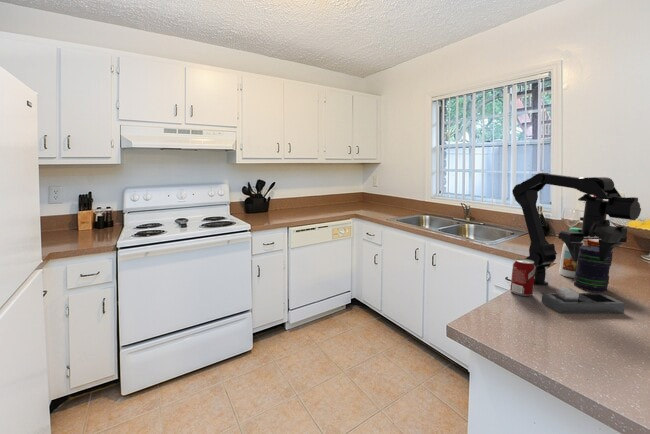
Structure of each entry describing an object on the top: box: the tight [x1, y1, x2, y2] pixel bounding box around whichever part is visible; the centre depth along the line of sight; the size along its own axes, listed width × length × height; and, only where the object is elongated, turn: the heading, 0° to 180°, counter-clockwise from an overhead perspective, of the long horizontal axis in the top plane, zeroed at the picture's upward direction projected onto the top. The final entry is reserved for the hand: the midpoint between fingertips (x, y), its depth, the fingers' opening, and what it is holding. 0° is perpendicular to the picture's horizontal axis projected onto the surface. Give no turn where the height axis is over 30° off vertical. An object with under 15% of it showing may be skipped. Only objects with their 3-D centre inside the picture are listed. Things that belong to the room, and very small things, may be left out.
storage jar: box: [573, 244, 614, 293], centre depth 117 cm, size 10×10×15 cm
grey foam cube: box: [555, 287, 580, 302], centre depth 100 cm, size 4×4×5 cm
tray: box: [541, 292, 626, 314], centre depth 100 cm, size 8×20×3 cm, turn 91°
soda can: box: [509, 258, 536, 297], centre depth 111 cm, size 7×7×12 cm
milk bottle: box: [558, 227, 586, 279], centre depth 130 cm, size 8×8×20 cm
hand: (588, 261), depth 106 cm, fingers open, 9 cm apart
